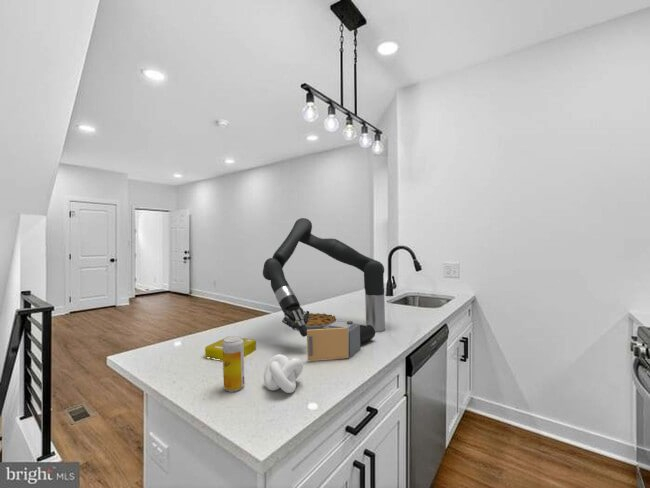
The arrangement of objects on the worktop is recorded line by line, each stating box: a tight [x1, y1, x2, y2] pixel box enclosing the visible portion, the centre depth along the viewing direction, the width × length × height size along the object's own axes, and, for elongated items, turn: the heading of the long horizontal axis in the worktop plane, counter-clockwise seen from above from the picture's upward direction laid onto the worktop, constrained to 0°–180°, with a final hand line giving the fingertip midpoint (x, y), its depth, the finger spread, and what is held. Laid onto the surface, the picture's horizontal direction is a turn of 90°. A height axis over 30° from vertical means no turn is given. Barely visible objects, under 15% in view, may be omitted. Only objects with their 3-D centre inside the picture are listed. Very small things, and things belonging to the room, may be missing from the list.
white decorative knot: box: [263, 354, 304, 394], centre depth 91 cm, size 11×12×9 cm
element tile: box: [204, 336, 257, 361], centre depth 122 cm, size 15×15×5 cm
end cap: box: [360, 324, 376, 345], centre depth 131 cm, size 10×7×7 cm
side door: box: [306, 328, 350, 361], centre depth 112 cm, size 2×15×11 cm, turn 96°
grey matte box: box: [323, 320, 361, 359], centre depth 121 cm, size 10×12×11 cm
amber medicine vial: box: [222, 335, 246, 393], centre depth 93 cm, size 6×6×15 cm
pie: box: [303, 312, 337, 330], centre depth 157 cm, size 22×22×5 cm
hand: (305, 335), depth 119 cm, fingers closed
